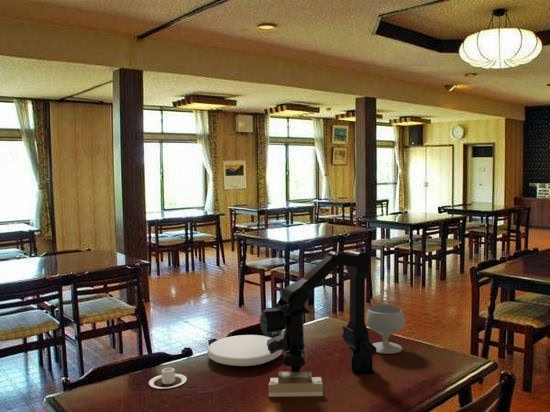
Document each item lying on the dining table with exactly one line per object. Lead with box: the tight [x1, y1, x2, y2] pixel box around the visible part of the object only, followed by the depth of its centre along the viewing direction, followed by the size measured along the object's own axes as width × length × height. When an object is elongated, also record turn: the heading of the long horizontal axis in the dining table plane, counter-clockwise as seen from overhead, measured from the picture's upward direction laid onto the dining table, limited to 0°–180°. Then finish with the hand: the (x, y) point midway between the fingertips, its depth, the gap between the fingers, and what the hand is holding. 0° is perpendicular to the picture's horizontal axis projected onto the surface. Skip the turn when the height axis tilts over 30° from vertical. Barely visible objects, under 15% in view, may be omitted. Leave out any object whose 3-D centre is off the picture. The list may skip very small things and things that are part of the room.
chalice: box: [365, 304, 406, 355], centre depth 193 cm, size 14×14×15 cm
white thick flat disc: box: [207, 334, 283, 367], centre depth 190 cm, size 28×6×27 cm
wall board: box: [267, 376, 324, 398], centre depth 162 cm, size 16×11×4 cm
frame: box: [277, 370, 313, 383], centre depth 160 cm, size 10×6×4 cm, turn 88°
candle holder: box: [148, 367, 188, 390], centre depth 170 cm, size 12×12×4 cm
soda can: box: [263, 307, 282, 338], centre depth 208 cm, size 7×7×12 cm
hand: (295, 377), depth 165 cm, fingers closed
